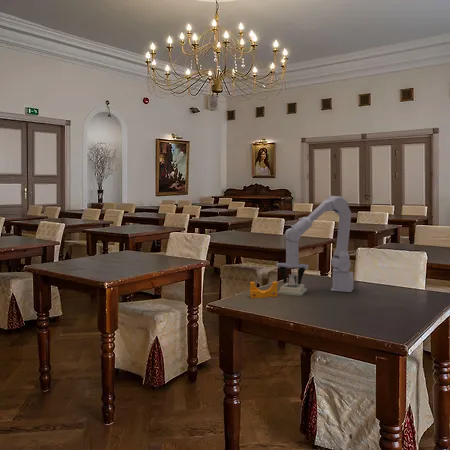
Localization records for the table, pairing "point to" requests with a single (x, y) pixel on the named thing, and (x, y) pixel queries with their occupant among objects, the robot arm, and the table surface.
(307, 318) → the table surface
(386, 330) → the table surface
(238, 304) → the table surface
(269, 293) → the pipe clamp
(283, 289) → the socket
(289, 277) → the grey cylinder
